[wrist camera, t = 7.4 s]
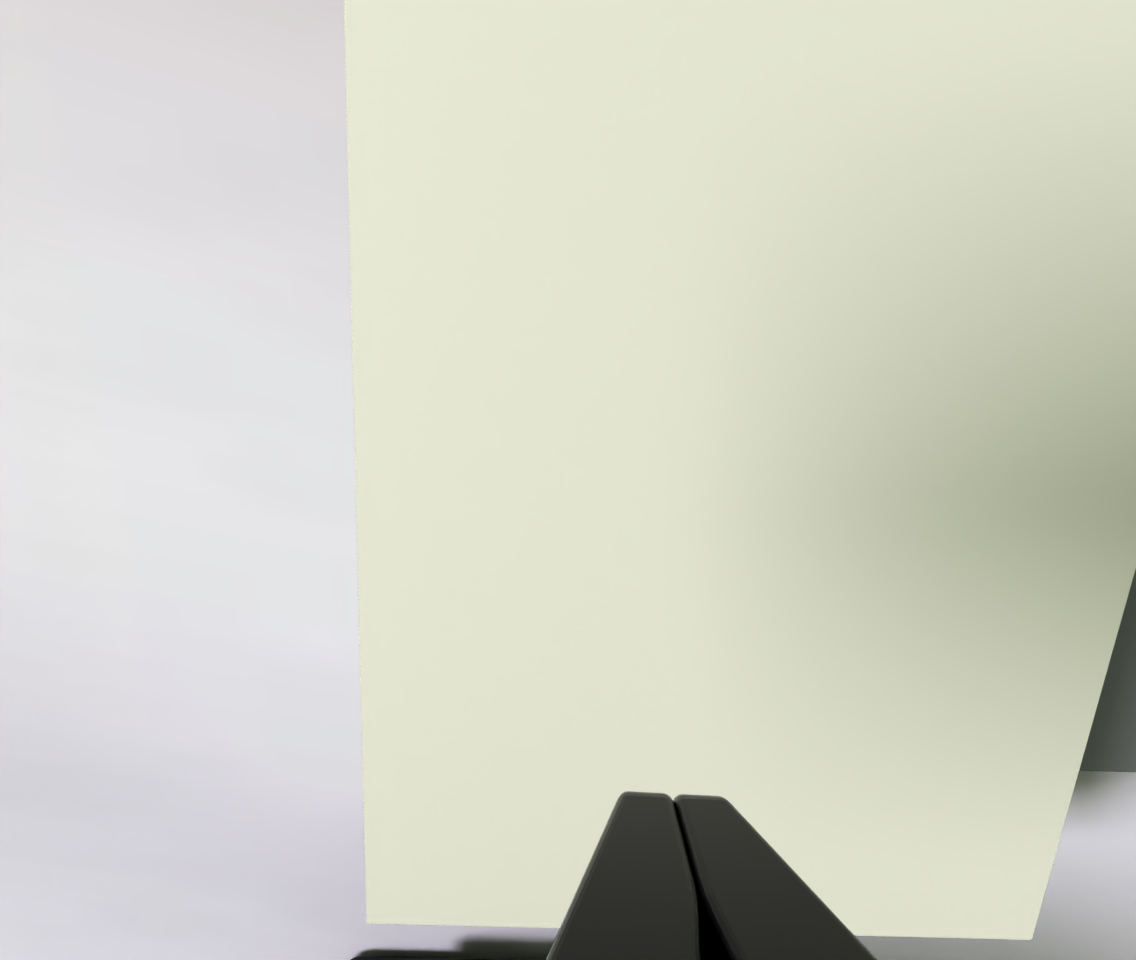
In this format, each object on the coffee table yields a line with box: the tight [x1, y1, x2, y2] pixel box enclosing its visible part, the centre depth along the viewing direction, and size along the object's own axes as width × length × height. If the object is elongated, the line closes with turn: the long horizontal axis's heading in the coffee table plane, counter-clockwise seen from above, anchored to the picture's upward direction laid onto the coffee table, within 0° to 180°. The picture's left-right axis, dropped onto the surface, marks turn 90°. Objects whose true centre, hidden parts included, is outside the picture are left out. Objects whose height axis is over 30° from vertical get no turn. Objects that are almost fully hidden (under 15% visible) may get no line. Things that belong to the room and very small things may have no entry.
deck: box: [344, 0, 1136, 940], centre depth 17 cm, size 20×12×4 cm, turn 177°
